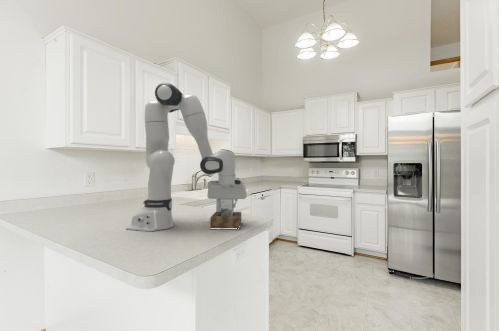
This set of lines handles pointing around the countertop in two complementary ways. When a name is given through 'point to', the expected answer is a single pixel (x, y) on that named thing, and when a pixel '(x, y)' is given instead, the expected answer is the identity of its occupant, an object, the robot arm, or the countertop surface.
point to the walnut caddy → (225, 220)
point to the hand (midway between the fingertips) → (227, 207)
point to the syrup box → (226, 207)
